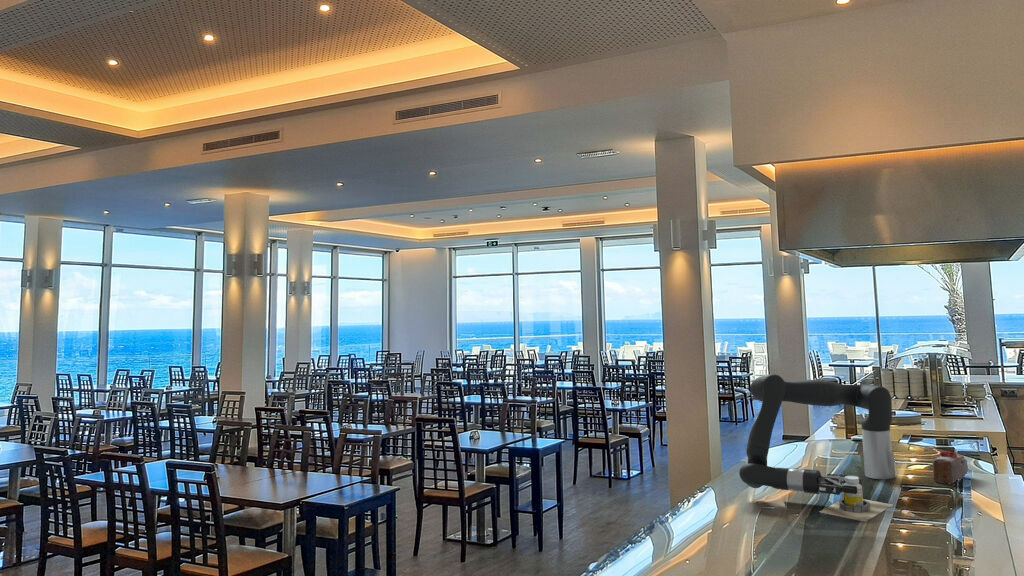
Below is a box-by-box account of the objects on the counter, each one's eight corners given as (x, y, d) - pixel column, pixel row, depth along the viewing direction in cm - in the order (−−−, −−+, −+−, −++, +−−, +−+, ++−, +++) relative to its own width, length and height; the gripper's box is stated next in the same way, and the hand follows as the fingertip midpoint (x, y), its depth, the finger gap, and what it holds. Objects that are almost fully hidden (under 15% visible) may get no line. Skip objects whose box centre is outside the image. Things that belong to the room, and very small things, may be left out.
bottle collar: (866, 504, 212) (865, 498, 212) (873, 513, 204) (872, 507, 204) (836, 503, 214) (836, 497, 214) (842, 512, 206) (841, 506, 206)
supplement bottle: (861, 511, 206) (859, 480, 206) (842, 509, 209) (840, 478, 209) (865, 506, 210) (863, 476, 210) (846, 504, 213) (844, 474, 213)
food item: (944, 473, 243) (942, 446, 243) (970, 477, 237) (968, 449, 237) (931, 482, 234) (929, 454, 234) (957, 486, 228) (955, 457, 228)
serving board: (848, 499, 221) (847, 496, 221) (893, 508, 210) (893, 504, 210) (818, 515, 208) (818, 511, 208) (865, 525, 197) (865, 521, 197)
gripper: (798, 474, 212) (854, 480, 202) (808, 464, 223) (862, 468, 214) (799, 498, 212) (856, 505, 202) (809, 486, 223) (864, 492, 214)
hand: (859, 486), depth 208 cm, fingers open, 8 cm apart
